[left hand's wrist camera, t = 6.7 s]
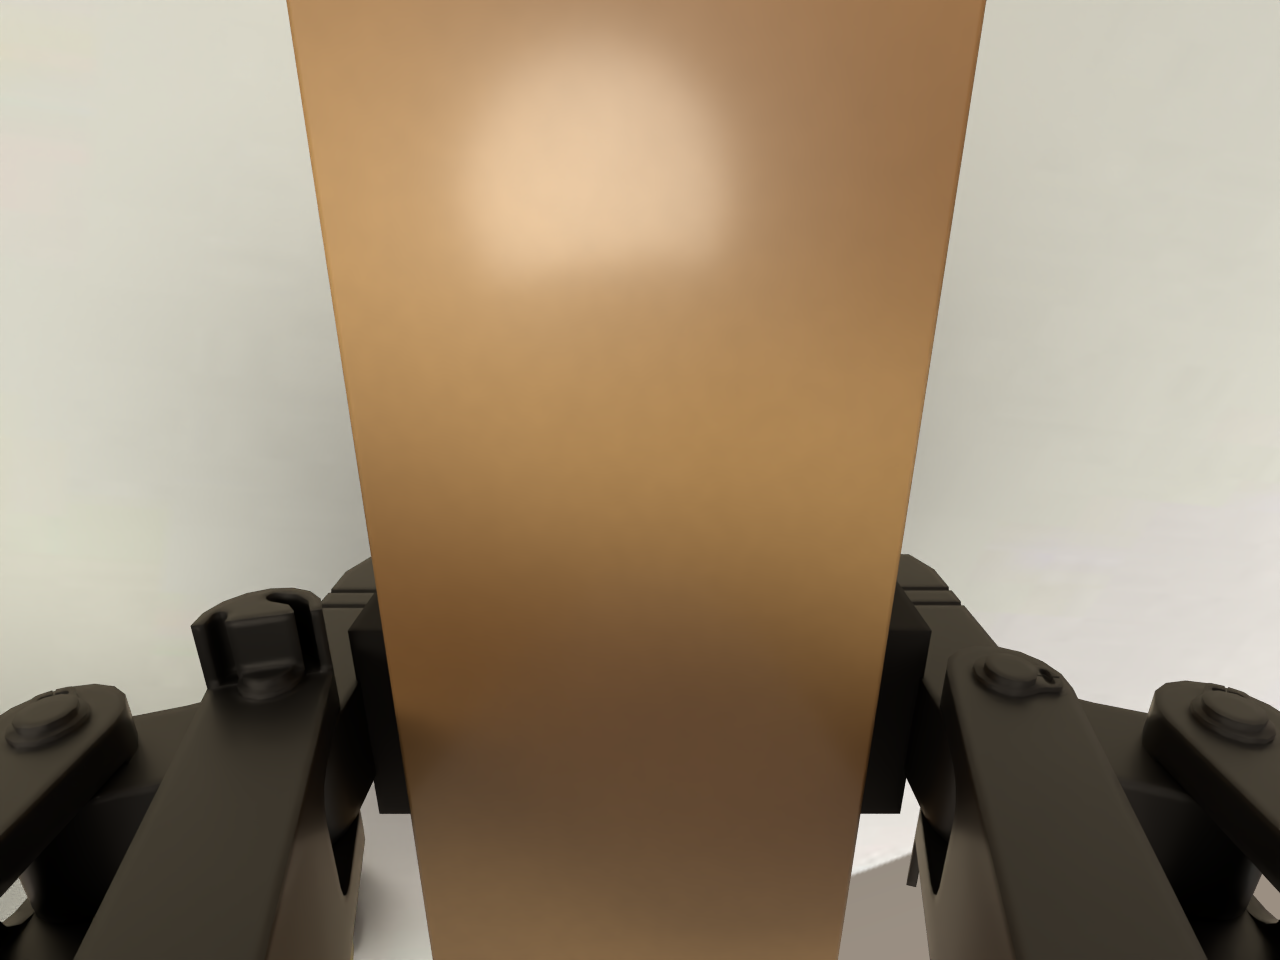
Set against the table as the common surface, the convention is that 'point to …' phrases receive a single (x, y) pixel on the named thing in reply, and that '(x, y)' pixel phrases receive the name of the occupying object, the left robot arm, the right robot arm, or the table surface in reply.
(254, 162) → the table surface
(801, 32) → the post
